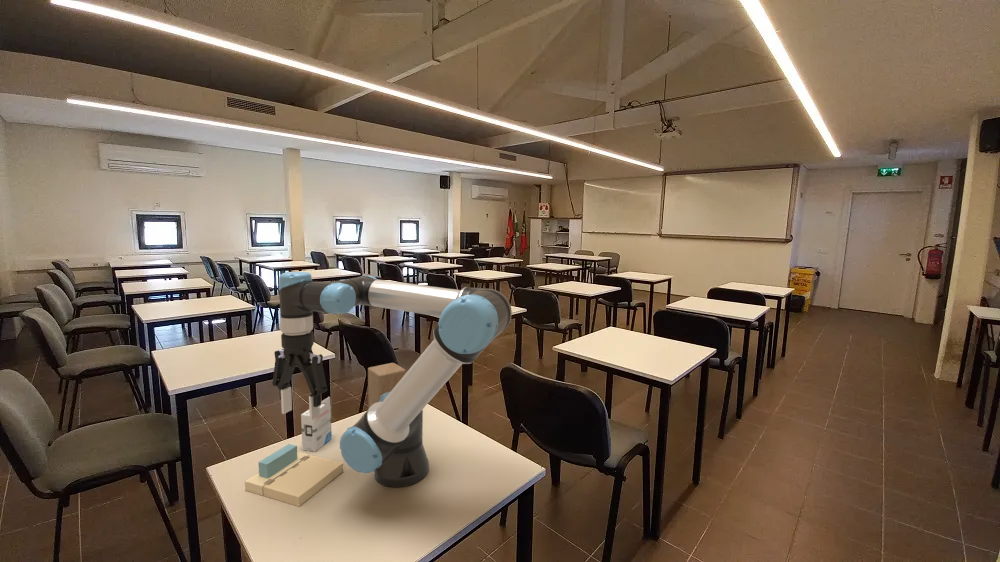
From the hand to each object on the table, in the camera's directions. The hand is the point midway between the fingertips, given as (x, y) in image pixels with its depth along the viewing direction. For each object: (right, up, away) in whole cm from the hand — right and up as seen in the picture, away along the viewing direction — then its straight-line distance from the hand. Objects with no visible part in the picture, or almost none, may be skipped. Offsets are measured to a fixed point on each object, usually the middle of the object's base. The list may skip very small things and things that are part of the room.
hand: (300, 414), depth 109 cm
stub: (-8, -19, +5) cm, 21 cm away
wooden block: (+13, -15, +38) cm, 43 cm away
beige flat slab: (0, -19, +2) cm, 19 cm away
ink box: (-5, -17, +22) cm, 28 cm away
